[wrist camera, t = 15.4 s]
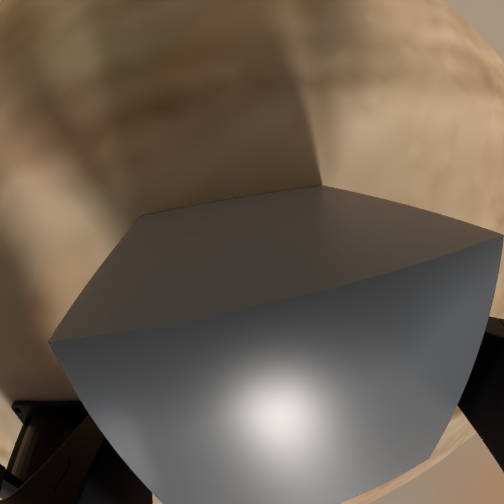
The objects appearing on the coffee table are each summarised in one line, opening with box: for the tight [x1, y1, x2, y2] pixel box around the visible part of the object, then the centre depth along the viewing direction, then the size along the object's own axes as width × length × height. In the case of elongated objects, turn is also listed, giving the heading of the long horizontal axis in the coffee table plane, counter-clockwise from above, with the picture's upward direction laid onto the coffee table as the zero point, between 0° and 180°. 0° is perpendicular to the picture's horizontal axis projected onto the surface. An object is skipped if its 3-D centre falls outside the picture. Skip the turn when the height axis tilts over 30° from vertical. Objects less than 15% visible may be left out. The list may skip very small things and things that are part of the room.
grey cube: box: [48, 186, 504, 504], centre depth 9 cm, size 8×8×9 cm
